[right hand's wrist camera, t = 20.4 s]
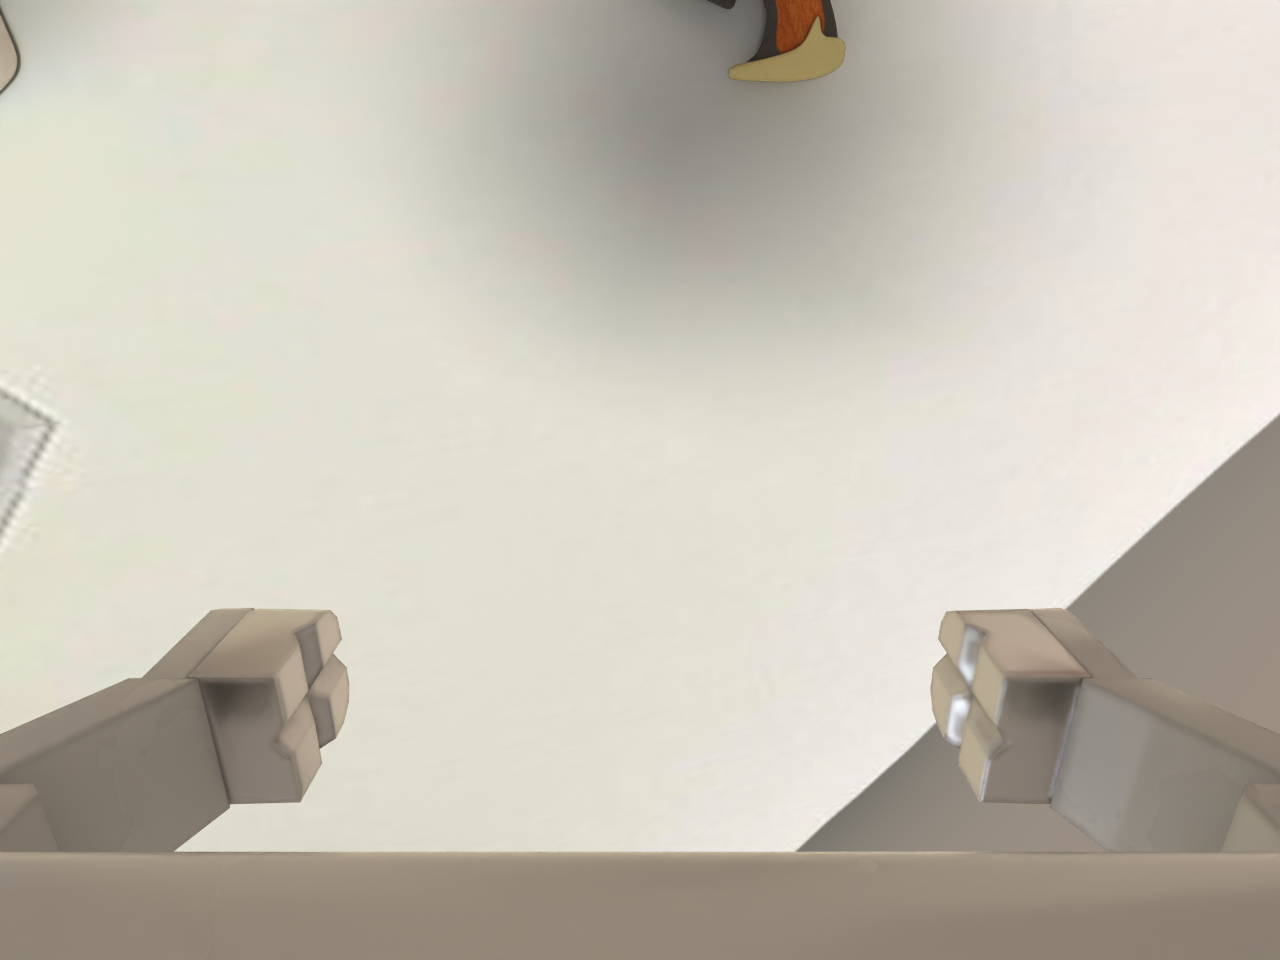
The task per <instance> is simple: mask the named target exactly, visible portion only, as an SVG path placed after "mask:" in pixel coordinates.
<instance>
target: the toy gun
mask: <svg viewBox="0 0 1280 960" xmlns="http://www.w3.org/2000/svg"><path fill="white" fill-rule="evenodd" d="M709 1H711V2H713V3H715V4H717V5H719V6H721V7H723V8H726V9H731V8H732V7H733V6H734V4H735V0H709ZM764 2H765V7H766V12H767V23H766V27H765V32H764V37H763V40H762V44H761V47H760V49H759V51H758V52H757V53H756V55H755V56H754V57H752V58H751V59H750V60H749V61H748V62H747V63H743V64H739V65H736V66H734V67H732V68H730V69H729V78H731V79H736V80H748V81H770V82H790V81H802V80H808V79H814V78H818V77H821V76H824V75H826V74H829V73H830V72H832V71H834V70H835V69H837V68H838V67H839V66H840V65H841V64H842V62H843V60H844V55H845V43H844V41H843V40H841V39H839V38H838V35H837V28H836V22H835V18H834V13H833V9H832V6H831V2H830V0H764Z"/></svg>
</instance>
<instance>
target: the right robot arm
mask: <svg viewBox="0 0 1280 960" xmlns="http://www.w3.org/2000/svg"><path fill="white" fill-rule="evenodd" d="M16 68H17V55H16V51H15V48H14V45H13V43H12V40H11V38H10V36H9V33H8V31H7V29H6V26H5V24H4V22H3V20H2V17H1V15H0V91H1V90H2V89H3V88H4V87H5V86H6V85H7V84H8V82H9V81H10V80H11V78H12V77H13V75H14V73H15V71H16ZM341 640H342V637H341V632H340V628H339V623H338V618H337V616H336V615H335V614H334V613H333V612H332V611H331V610H298V609H253V608H233V609H217V610H211V611H210V612H209V613H208V614H207V615H206V616H205V617H204V618H203V619H202V620H201V621H200V622H199V623H198V624H197V625H196V626H195V627H194V628H193V629H192V630H191V631H190V632H188V633H187V634H186V635H185V636H184V637H183V638H182V639H181V640H180V641H179V642H178V643H177V644H176V645H175V646H174V647H173V648H172V649H171V650H170V651H169V652H168V653H167V654H166V655H165V656H164V657H163V658H162V659H161V660H160V661H159V662H158V663H157V664H156V665H155V666H154V667H153V668H152V669H150V670H149V671H148V672H147V673H146V674H145V675H144V676H143V677H142V678H129V679H126V680H124V681H122V682H119V683H117V684H115V685H113V686H110V687H108V688H106V689H103V690H101V691H99V692H96V693H94V694H92V695H90V696H87V697H85V698H83V699H80V700H78V701H76V702H74V703H71V704H69V705H67V706H64V707H62V708H60V709H57V710H55V711H53V712H51V713H48V714H46V715H44V716H41V717H39V718H37V719H34V720H32V721H30V722H28V723H25V724H23V725H21V726H18V727H16V728H14V729H11V730H9V731H7V732H5V733H2V734H0V960H1280V734H1277V733H1275V732H1273V731H1270V730H1268V729H1266V728H1264V727H1261V726H1259V725H1257V724H1254V723H1252V722H1250V721H1248V720H1245V719H1243V718H1241V717H1238V716H1236V715H1234V714H1232V713H1229V712H1227V711H1225V710H1222V709H1220V708H1218V707H1215V706H1213V705H1211V704H1209V703H1206V702H1204V701H1202V700H1199V699H1197V698H1195V697H1192V696H1190V695H1188V694H1186V693H1183V692H1181V691H1179V690H1177V689H1174V688H1172V687H1170V686H1167V685H1165V684H1163V683H1161V682H1158V681H1156V680H1154V679H1151V678H1138V677H1137V676H1136V675H1135V674H1134V673H1133V672H1132V671H1131V670H1130V669H1129V668H1128V667H1126V666H1125V665H1124V664H1123V663H1122V662H1121V661H1120V660H1119V659H1118V658H1117V657H1116V656H1115V655H1114V654H1113V653H1112V652H1111V651H1110V650H1109V649H1108V648H1107V647H1106V646H1105V645H1104V644H1103V643H1102V642H1101V641H1100V640H1099V639H1098V638H1097V637H1096V636H1095V635H1094V634H1093V633H1092V632H1091V631H1090V630H1089V629H1088V628H1086V626H1085V625H1084V624H1082V623H1081V622H1080V621H1079V620H1078V619H1077V618H1076V617H1075V616H1074V615H1073V614H1072V613H1071V612H1070V611H1067V610H1065V609H1062V608H1044V609H1011V610H971V611H948V612H946V613H945V615H944V618H943V620H942V622H941V626H940V632H939V637H938V640H939V641H940V643H941V644H942V646H943V647H944V649H945V650H946V652H947V654H946V655H945V656H944V657H943V658H942V659H941V660H940V661H939V662H938V663H937V664H936V665H935V666H934V667H933V674H932V682H931V699H932V710H933V713H934V716H935V720H936V723H937V725H938V727H939V729H940V731H941V733H942V735H943V737H944V738H945V739H946V740H948V741H949V742H951V743H952V744H954V745H955V746H957V747H958V748H960V754H959V760H958V764H959V766H960V768H961V769H962V771H963V773H964V775H965V777H966V778H967V780H968V782H969V784H970V785H971V787H972V789H973V791H974V793H975V794H976V796H977V798H978V800H979V801H980V802H990V803H1027V804H1051V805H1050V808H1051V809H1053V810H1054V811H1055V812H1057V813H1058V814H1059V815H1061V816H1062V817H1063V818H1064V819H1066V820H1067V821H1068V822H1070V823H1071V824H1072V825H1073V826H1075V827H1076V828H1077V829H1078V830H1080V831H1081V832H1082V833H1084V834H1085V835H1086V836H1087V837H1089V838H1090V839H1091V840H1093V841H1094V842H1095V843H1097V844H1098V845H1099V846H1100V847H1102V848H1103V849H1104V850H1106V851H1107V852H173V851H175V850H176V849H177V848H179V847H180V846H181V845H182V844H184V843H185V842H186V841H188V840H189V839H190V838H191V837H193V836H194V835H195V834H197V833H198V832H199V831H200V830H202V829H203V828H204V827H206V826H207V825H208V824H210V823H211V822H212V821H213V820H215V819H216V818H217V817H219V816H220V815H221V814H222V813H224V812H225V811H226V810H228V809H229V808H230V805H229V804H253V803H288V802H301V800H302V798H303V796H304V794H305V793H306V791H307V789H308V787H309V786H310V784H311V782H312V780H313V778H314V777H315V775H316V773H317V771H318V769H319V768H320V766H321V764H322V760H321V754H320V748H322V747H323V746H325V745H326V744H328V743H329V742H331V741H332V740H334V739H335V738H336V737H337V735H338V733H339V731H340V729H341V727H342V725H343V723H344V720H345V716H346V711H347V707H348V703H349V680H348V673H347V667H346V666H345V665H344V664H343V663H342V662H341V661H340V660H339V659H338V658H337V657H336V656H335V655H334V654H333V652H334V650H335V649H336V647H337V646H338V644H339V643H340V641H341Z"/></svg>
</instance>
